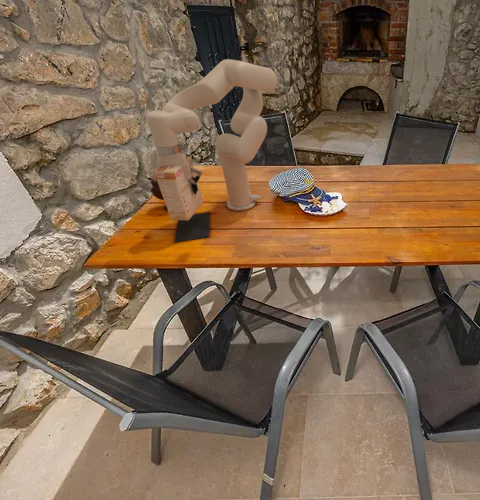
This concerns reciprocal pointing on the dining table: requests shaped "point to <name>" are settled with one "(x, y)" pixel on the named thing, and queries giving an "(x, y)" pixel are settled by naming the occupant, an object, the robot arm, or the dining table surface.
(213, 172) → the dining table surface
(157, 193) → the ice cream bowl
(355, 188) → the dining table surface
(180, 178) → the coffeecake box
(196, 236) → the mat
